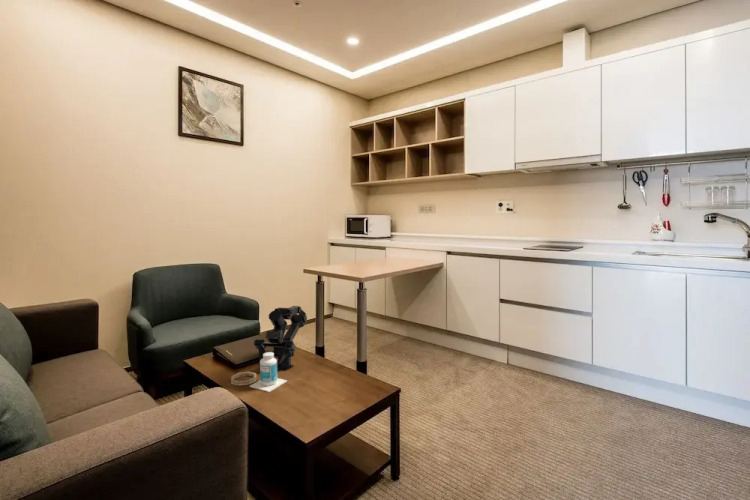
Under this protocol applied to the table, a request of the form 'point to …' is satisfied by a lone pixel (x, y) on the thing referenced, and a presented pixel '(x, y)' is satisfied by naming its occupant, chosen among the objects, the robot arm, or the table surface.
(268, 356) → the pill bottle
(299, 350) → the table surface
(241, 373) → the ring holder
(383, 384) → the table surface
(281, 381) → the white square cloth
